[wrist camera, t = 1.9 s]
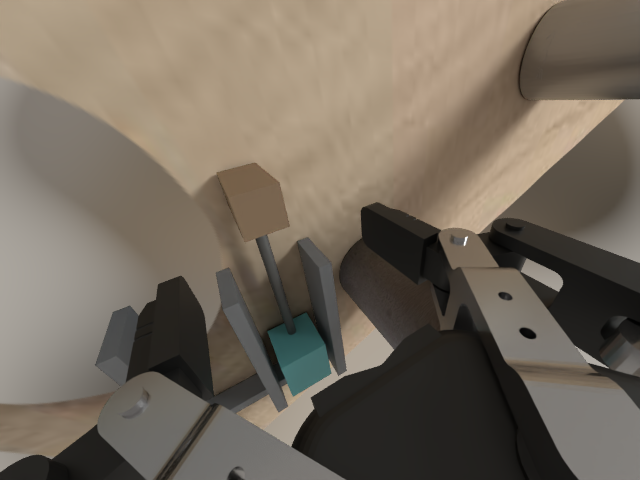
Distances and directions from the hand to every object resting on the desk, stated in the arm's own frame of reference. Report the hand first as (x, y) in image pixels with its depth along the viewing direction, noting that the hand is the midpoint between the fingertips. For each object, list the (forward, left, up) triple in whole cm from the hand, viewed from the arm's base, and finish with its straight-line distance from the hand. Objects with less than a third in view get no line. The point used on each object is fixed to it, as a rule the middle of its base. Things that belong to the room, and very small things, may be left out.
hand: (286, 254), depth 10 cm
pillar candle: (-13, +15, -12) cm, 22 cm away
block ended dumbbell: (0, +11, -11) cm, 15 cm away
